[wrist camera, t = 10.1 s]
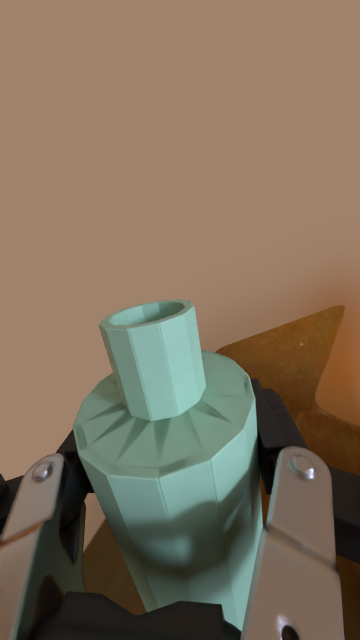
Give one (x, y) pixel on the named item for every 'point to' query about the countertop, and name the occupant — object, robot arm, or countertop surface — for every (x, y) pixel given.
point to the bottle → (175, 459)
